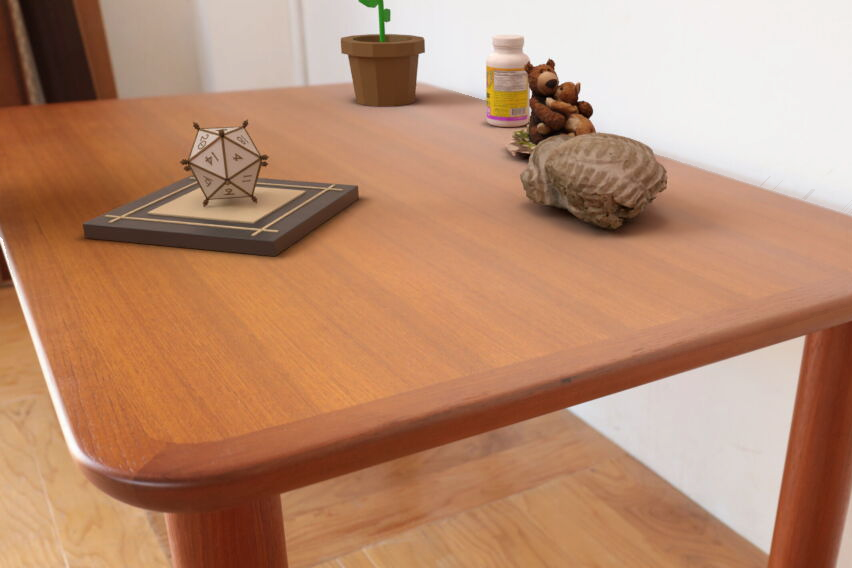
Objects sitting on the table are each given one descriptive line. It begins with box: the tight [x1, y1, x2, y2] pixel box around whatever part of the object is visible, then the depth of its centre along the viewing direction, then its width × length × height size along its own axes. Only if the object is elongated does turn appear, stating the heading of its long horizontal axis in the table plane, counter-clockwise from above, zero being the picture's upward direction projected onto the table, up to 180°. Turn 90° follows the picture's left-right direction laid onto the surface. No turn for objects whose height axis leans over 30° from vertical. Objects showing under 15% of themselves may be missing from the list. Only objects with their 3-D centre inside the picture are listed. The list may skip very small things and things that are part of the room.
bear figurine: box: [505, 57, 597, 157], centre depth 116 cm, size 14×15×12 cm
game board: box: [82, 174, 360, 257], centre depth 93 cm, size 20×20×2 cm
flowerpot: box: [340, 0, 426, 107], centre depth 148 cm, size 14×14×30 cm
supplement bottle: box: [485, 34, 531, 128], centre depth 135 cm, size 7×7×13 cm
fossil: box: [519, 132, 669, 231], centre depth 94 cm, size 18×13×10 cm
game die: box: [179, 119, 270, 207], centre depth 90 cm, size 9×8×10 cm
